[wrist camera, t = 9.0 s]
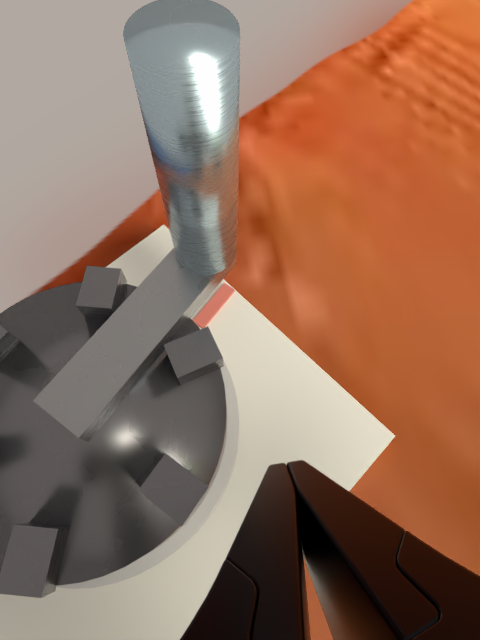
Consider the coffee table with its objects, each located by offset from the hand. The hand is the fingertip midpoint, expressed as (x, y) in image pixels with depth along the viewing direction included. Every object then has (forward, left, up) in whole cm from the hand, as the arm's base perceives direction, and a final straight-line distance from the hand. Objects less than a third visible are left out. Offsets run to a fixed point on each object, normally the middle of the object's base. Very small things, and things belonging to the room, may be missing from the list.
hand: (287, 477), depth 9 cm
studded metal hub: (+7, +1, -7) cm, 10 cm away
